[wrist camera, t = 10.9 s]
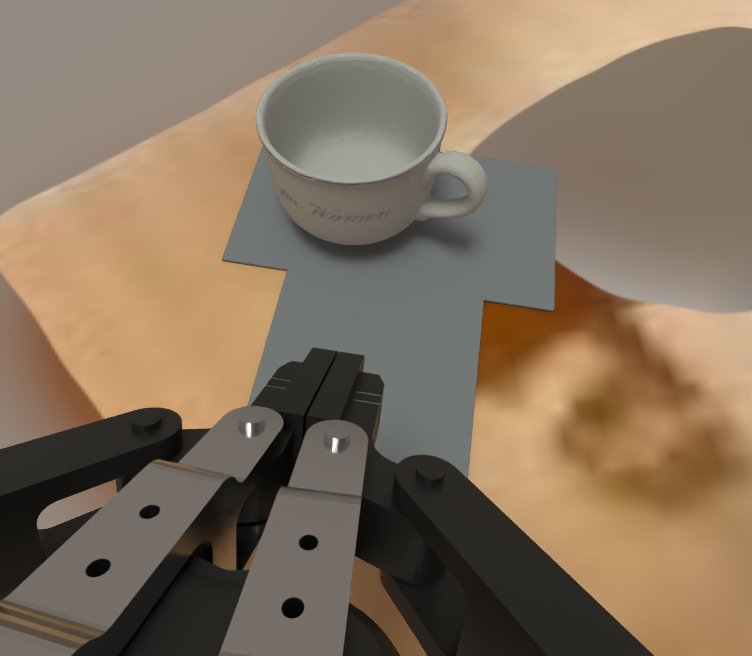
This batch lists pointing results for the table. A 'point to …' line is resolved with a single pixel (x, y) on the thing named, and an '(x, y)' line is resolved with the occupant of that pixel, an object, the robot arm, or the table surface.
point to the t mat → (407, 297)
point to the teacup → (361, 148)
